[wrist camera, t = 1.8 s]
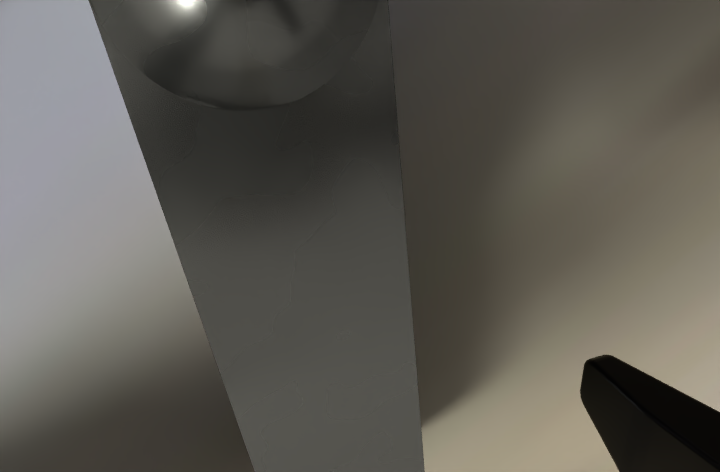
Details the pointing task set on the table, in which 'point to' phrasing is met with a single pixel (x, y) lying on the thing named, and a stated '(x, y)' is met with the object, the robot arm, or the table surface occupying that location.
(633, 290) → the table surface
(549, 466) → the table surface
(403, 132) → the table surface
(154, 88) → the grey notched block
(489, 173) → the table surface
